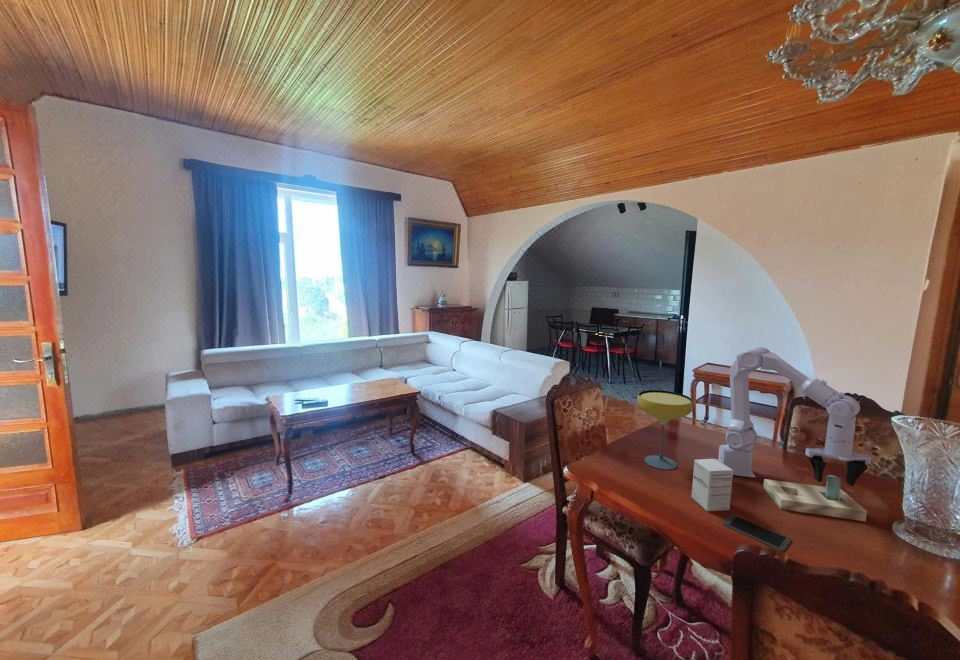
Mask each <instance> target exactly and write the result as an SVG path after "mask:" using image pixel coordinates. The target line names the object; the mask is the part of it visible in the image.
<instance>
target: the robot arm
mask: <svg viewBox="0 0 960 660" xmlns="http://www.w3.org/2000/svg"><path fill="white" fill-rule="evenodd" d="M759 368H760V370H767V371H774V372H776V373H777V374H779V375H781V376H782V377H784V378H786V379H788V380H789V381H791V382H792V383H793V384H796V385H798V386H799V387H800V390H801V393H802V394H804V396H807V397H808V398H809V399H811V400H812V401H814V402H816V403H817V404H818V405H819V406H822V408H825V409H826V412H827V414H828V416H829V417H828V421H827V426H826V427H827V428H826V435H825V442H824V443H825V444H824V447H822V448H821V447H820V448H819V447H818V448H817V447H816V448H809V447H808V448H805V454H804V455H805V456H807V458H808V459H809V461H810V463H811V467H812V470H813V474H814V480H816V481H817V483H818V482H819V483H821V482H822V481H823V474H824V471H825V470H824V469H825V468H826V465H827V462H825V461H824V459H830V460H831V459H833V460H840V461H842V462H843V461H844V462H846V469H847V470H846V478H845V481H846V484H848V485H849V486H850V487H854V485H855V484H856V482H857V480H858V478H859V477H860V476H861V475H862V474H863V473H864V472H866V471H867V470H868V467H869V465H871V461H872V457H871V456H869V455H868V454H865V453H858V452H853V446H854V439H855V431H856V422H857V421H856V419H857V416H856V415H858V413H859V412H860V411H861V405H860V404H859V403H860V402H858V401H857V400H856V399H855V398H854V397H852V396H849V395H845V393H843V392H839V391H837V389H836V390H835V388H833V387H831V386H829V385H828V382H827V381H826V380H824V379H821V380H820V379H819V378H810V377H808V376H806V375H805V374H804V373H803V372H801V371H800V370H798V368H797V369H796V367H794V366H792V365H791V364H790V363H788V362H787V361H785V360H784V359H782V357H780V356H779V355H778V354H776V353H775V352H773V351H770V350H769V349H768V348H766V347H761V346H760V347H755V348H753V349H746V350H743V351H741V352H739V354H737V355H736V358H735V360H734V361H733V363H732V365H731V366H730V368H729V385H730V386H729V387H730V388H729V389H730V393H729V394H730V409H731V410H730V413H731V421H730V422H729V424H728V426H727V432H726V434H725V437H724V440H725V442H726V444H720V445H719V447H718V459H717V460H718V461H720V462H721V463H723V464H724V465H726V466H727V467H729V468H730V469H732V470H733V476H736V477H737V476H738V477H746V478H752V479H753V478H756V476H757V475H755V474H754V472H753V471H752V463H753V455H754V453H753V451H754V447H753V444H754V443H755V442H756V441H757V440H758V433H757V432H756V430H755V428H754V423H753V422H752V421H751V412H750V411H751V408H750V387H749V385H750V384H749V381H750V380H749V375H751V373H754V372H755V371H756V370H757V369H759ZM868 464H869V465H868Z"/></svg>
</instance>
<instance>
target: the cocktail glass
mask: <svg viewBox="0 0 960 660" xmlns="http://www.w3.org/2000/svg"><path fill="white" fill-rule="evenodd" d="M636 400H637V401H636V402H637V405H638V407H639V408H640V409H641V410H642V411H643V412H645V413H646V414H648V415H650V416H651V417H654V418H655V419H657V421H658V422H659V423H660V424H661V438H660V447H659V448H660V449H659V450H660V451H659V455H656V454H653V455H647V456H646V457H645V458H644V461H645V463H646V464H647V465H648V466H650V467H652V468H654V467H655V469H657V468H658V470H662V469H663V470H665V471H671V469H672V470H675V469H677V468H678V464H677V462H676V461H674V460H673V459H672V458H670V457H666V456H664V453H663V452H664V451H663V450H664V431H665V425H667V424H668V422H670V421H673V420H676V419H681V418H684V417H686V416H689V415H690V414H691V413H692V412H693V409H694V400H693V399H692V398H691V397H690V396H688V395H685V394H683V393H678V392H676V391H669V390H659V389H650V390H643V391H640V392H638V395H637V398H636ZM669 458H670V459H669ZM663 470H662V471H663Z"/></svg>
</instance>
